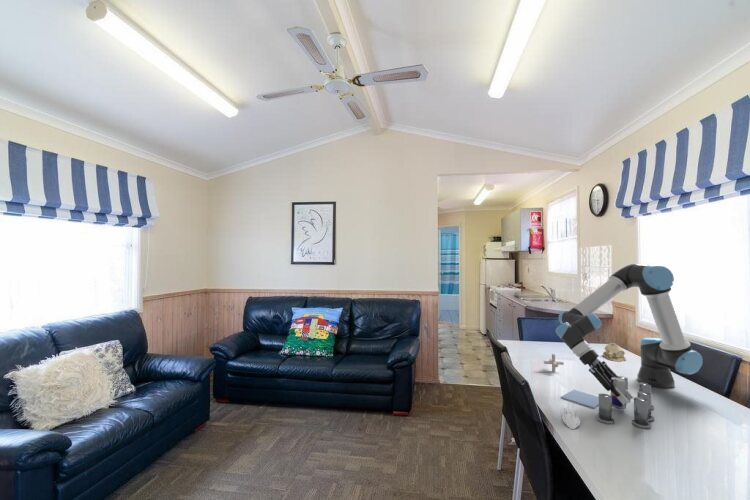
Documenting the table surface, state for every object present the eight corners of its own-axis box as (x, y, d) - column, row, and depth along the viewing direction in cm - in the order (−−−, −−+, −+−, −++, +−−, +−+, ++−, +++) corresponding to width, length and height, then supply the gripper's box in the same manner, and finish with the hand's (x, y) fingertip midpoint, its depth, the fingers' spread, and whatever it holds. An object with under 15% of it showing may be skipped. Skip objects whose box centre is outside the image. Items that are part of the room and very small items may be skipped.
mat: (560, 398, 159) (560, 396, 159) (573, 390, 167) (573, 389, 167) (594, 408, 148) (594, 407, 148) (606, 400, 156) (606, 399, 156)
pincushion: (561, 415, 143) (561, 401, 143) (578, 418, 140) (578, 404, 140) (563, 428, 132) (563, 413, 132) (581, 432, 129) (581, 417, 129)
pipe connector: (566, 375, 189) (566, 357, 189) (546, 374, 191) (546, 356, 191) (560, 369, 198) (560, 352, 199) (541, 368, 200) (541, 351, 201)
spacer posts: (585, 417, 140) (585, 392, 140) (616, 395, 161) (616, 374, 162) (642, 436, 125) (642, 409, 125) (668, 410, 146) (668, 386, 146)
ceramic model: (630, 361, 213) (630, 345, 213) (613, 362, 212) (613, 346, 212) (613, 355, 227) (613, 340, 227) (597, 355, 226) (597, 340, 226)
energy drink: (607, 404, 149) (607, 377, 149) (619, 404, 149) (618, 376, 149) (617, 410, 144) (617, 381, 144) (629, 409, 144) (628, 381, 144)
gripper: (587, 354, 164) (628, 399, 151) (570, 361, 153) (613, 411, 140) (599, 345, 160) (643, 391, 147) (583, 352, 149) (628, 402, 136)
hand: (628, 400), depth 144 cm, fingers closed on energy drink, 5 cm apart
